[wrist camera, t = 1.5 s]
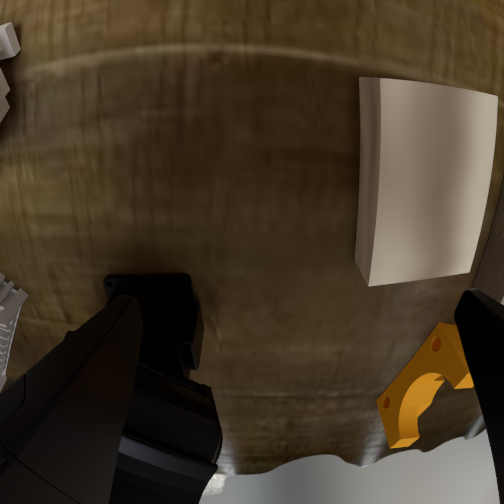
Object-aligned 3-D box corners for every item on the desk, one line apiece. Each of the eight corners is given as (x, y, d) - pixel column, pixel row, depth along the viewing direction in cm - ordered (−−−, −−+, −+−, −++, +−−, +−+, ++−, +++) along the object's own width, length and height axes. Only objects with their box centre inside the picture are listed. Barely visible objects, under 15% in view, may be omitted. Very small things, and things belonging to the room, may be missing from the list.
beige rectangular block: (352, 256, 22) (368, 286, 19) (356, 76, 16) (380, 78, 13) (446, 247, 22) (469, 272, 19) (464, 89, 16) (497, 96, 13)
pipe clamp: (404, 400, 32) (420, 444, 26) (375, 399, 31) (389, 448, 25) (466, 325, 26) (495, 372, 20) (438, 321, 25) (468, 373, 20)
